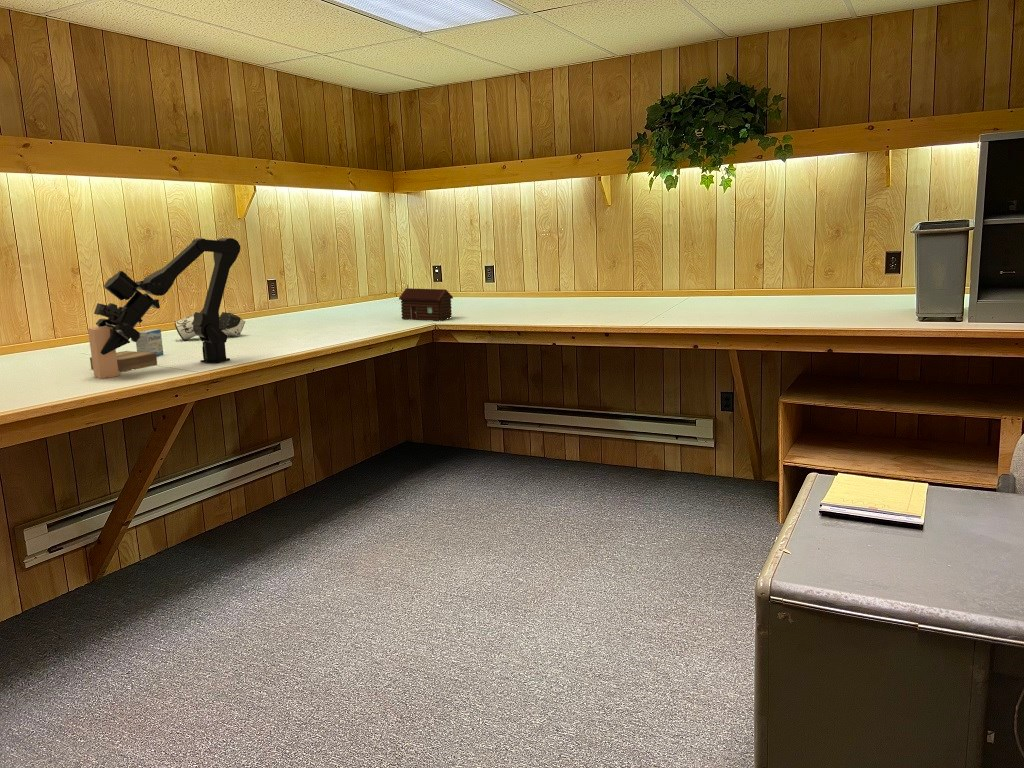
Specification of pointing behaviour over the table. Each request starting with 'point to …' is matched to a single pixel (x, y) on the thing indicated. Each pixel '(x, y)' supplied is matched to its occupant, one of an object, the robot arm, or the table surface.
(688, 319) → the table surface
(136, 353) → the walnut block
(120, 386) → the table surface
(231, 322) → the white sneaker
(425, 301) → the model building
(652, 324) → the table surface
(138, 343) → the medicine box
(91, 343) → the terracotta block
